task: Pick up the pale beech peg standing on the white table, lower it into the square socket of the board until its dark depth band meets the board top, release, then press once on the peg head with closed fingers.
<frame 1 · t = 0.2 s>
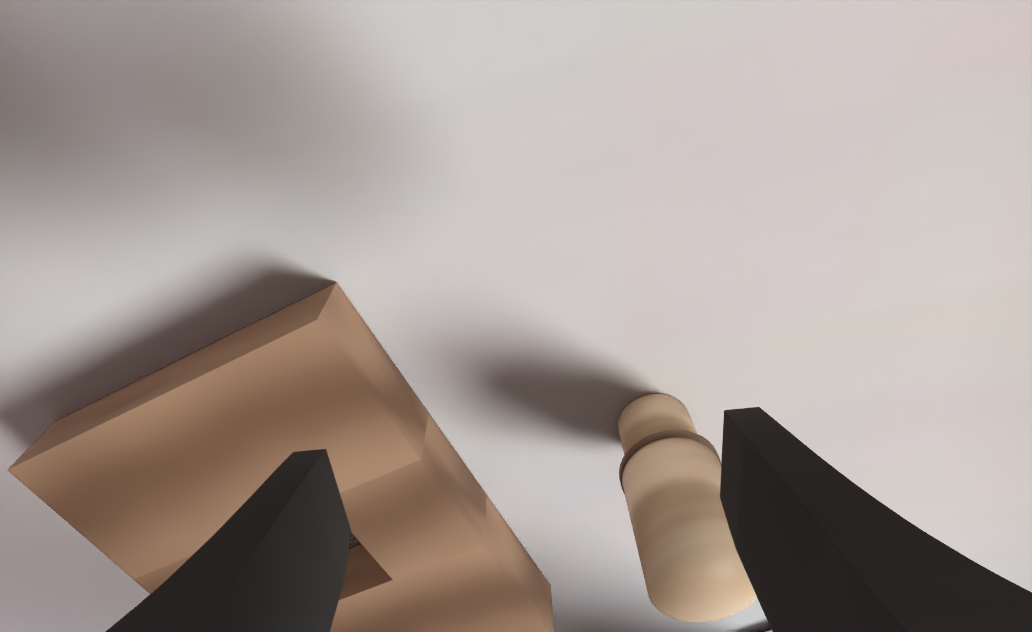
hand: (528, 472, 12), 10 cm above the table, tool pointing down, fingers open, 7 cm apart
peg: (653, 423, 24), on the table
board: (324, 510, 25), on the table
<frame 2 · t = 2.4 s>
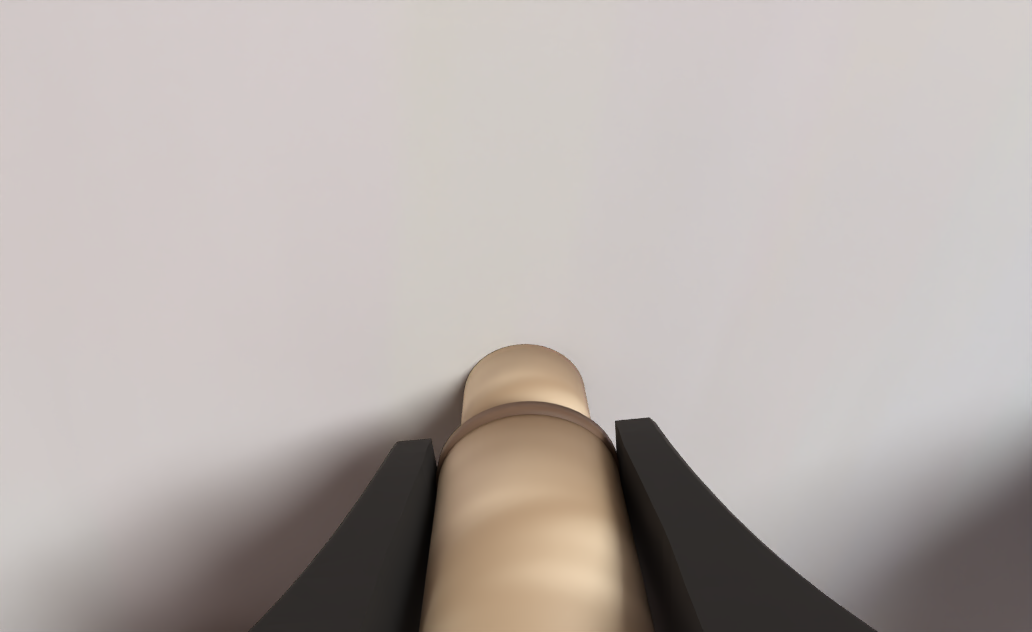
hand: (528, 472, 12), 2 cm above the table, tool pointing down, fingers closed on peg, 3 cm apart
peg: (524, 396, 14), on the table, touching gripper
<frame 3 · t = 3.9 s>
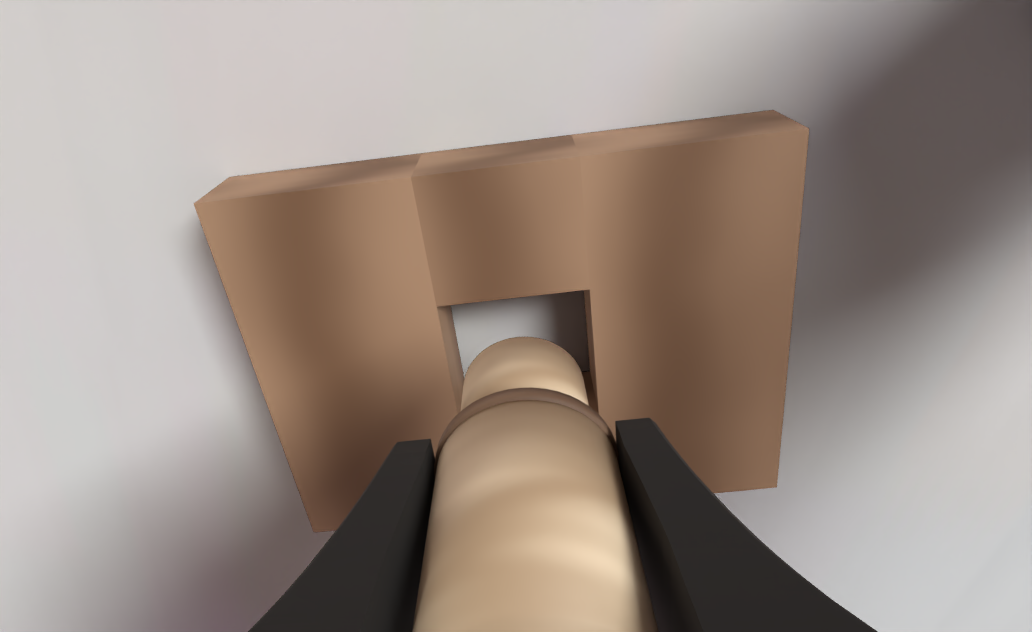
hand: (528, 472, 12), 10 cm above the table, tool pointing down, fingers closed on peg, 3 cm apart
peg: (523, 390, 14), point 8 cm above the table, touching gripper
board: (520, 323, 22), on the table
when the fingers open (4 cm above the table, at t = 5.6 s): peg drops 1 cm, resting in board.
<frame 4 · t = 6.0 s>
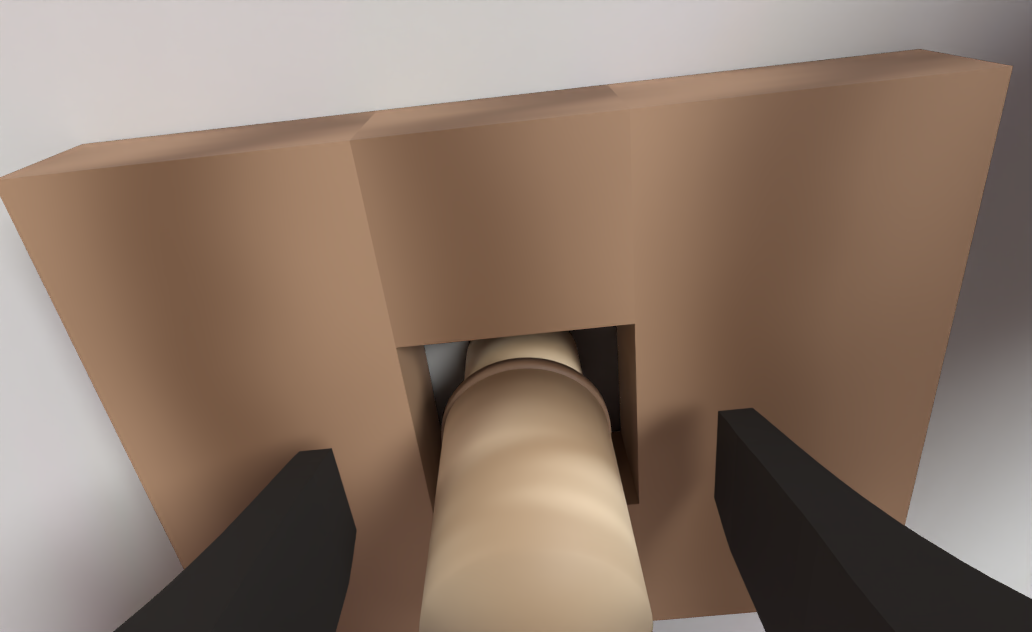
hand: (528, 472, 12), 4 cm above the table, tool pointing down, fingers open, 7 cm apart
peg: (522, 360, 15), resting in board
board: (523, 364, 15), on the table
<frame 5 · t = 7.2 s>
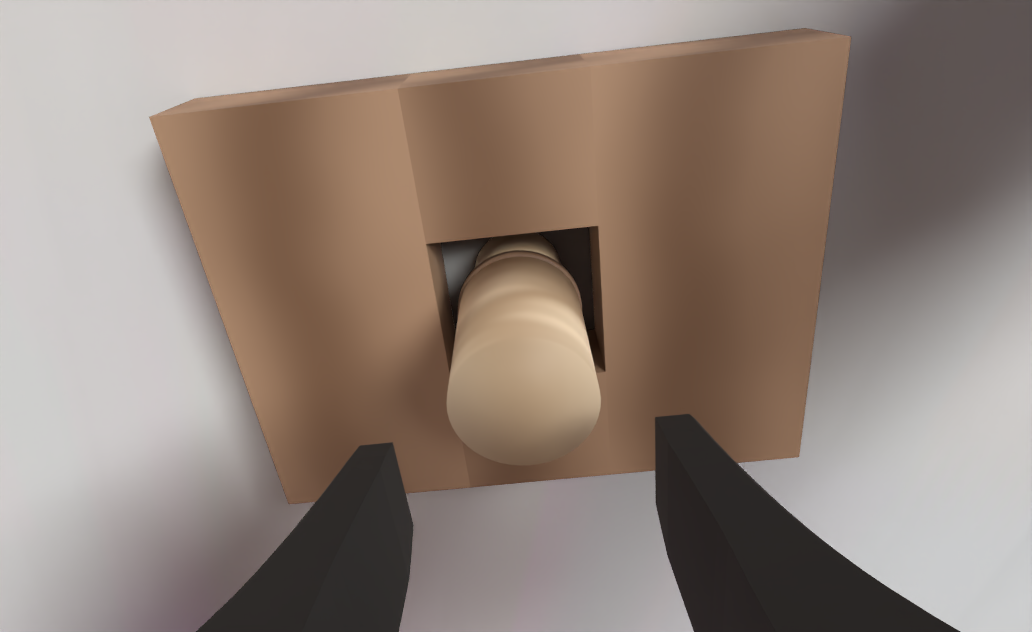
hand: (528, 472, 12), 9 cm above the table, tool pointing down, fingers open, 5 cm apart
peg: (518, 270, 20), resting in board
board: (518, 273, 20), on the table
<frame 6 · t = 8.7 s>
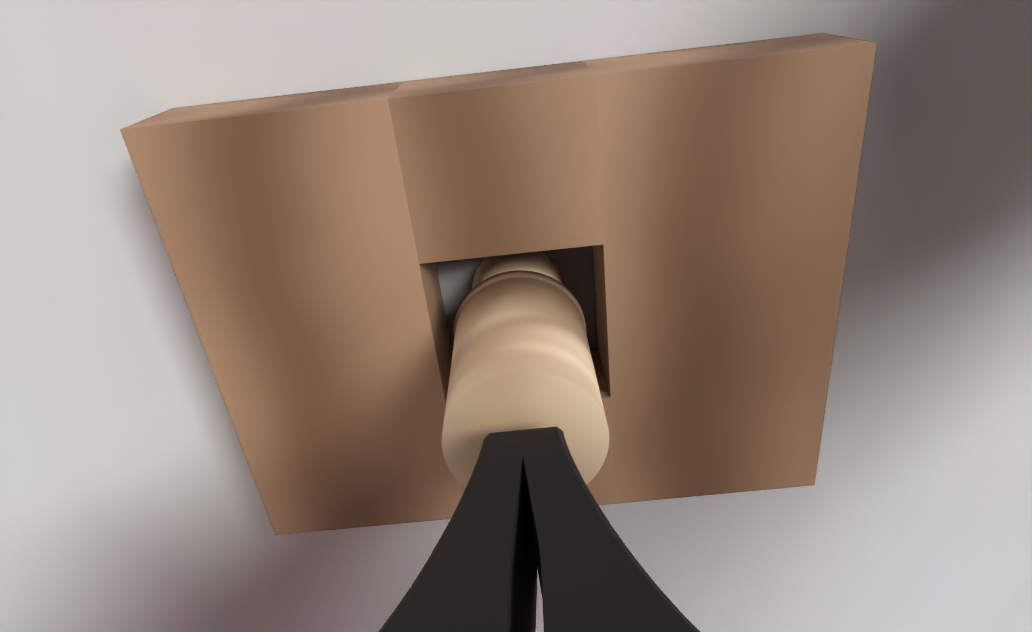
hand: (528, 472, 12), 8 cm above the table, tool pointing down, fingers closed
peg: (517, 288, 19), resting in board
board: (518, 291, 19), on the table
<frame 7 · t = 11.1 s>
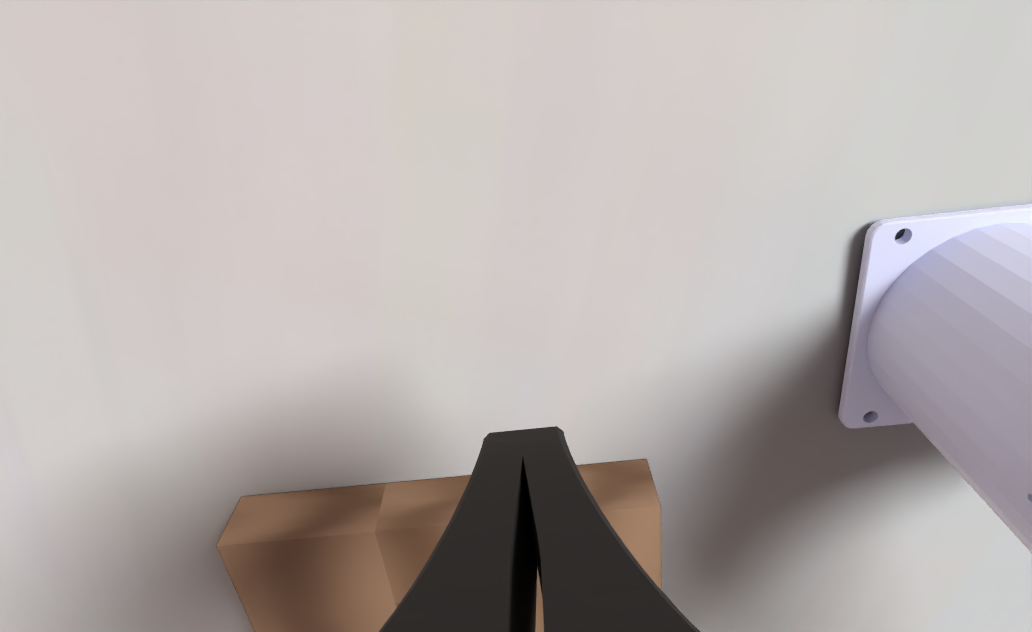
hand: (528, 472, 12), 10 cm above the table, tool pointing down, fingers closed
board: (463, 583, 28), on the table
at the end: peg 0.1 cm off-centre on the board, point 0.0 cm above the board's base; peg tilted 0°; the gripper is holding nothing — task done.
